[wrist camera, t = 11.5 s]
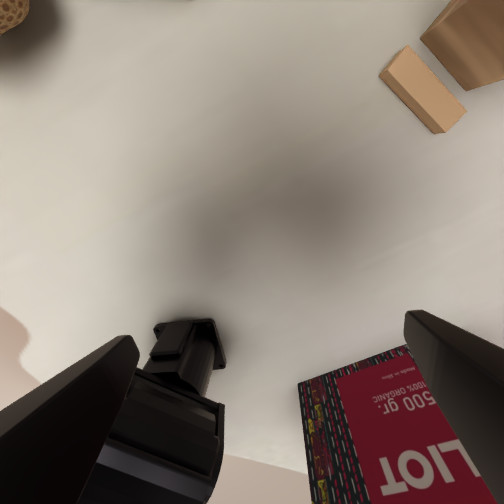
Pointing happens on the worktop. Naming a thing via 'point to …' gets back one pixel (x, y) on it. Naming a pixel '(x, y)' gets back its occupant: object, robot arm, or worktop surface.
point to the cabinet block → (469, 41)
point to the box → (383, 438)
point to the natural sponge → (12, 13)
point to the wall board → (422, 91)
